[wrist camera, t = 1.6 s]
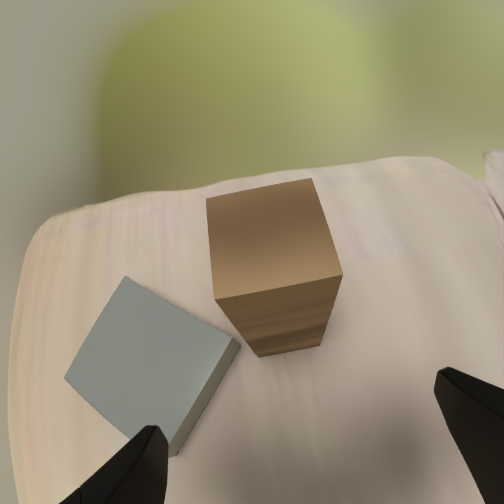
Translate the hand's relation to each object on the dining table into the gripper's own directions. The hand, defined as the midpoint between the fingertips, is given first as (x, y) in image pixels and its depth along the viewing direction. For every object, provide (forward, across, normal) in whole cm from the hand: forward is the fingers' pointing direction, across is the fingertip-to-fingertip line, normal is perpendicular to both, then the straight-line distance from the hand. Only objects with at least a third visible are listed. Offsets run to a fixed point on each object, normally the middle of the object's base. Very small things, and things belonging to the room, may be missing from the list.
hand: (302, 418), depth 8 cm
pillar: (+14, 0, +4) cm, 14 cm away
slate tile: (+12, +10, +6) cm, 17 cm away
